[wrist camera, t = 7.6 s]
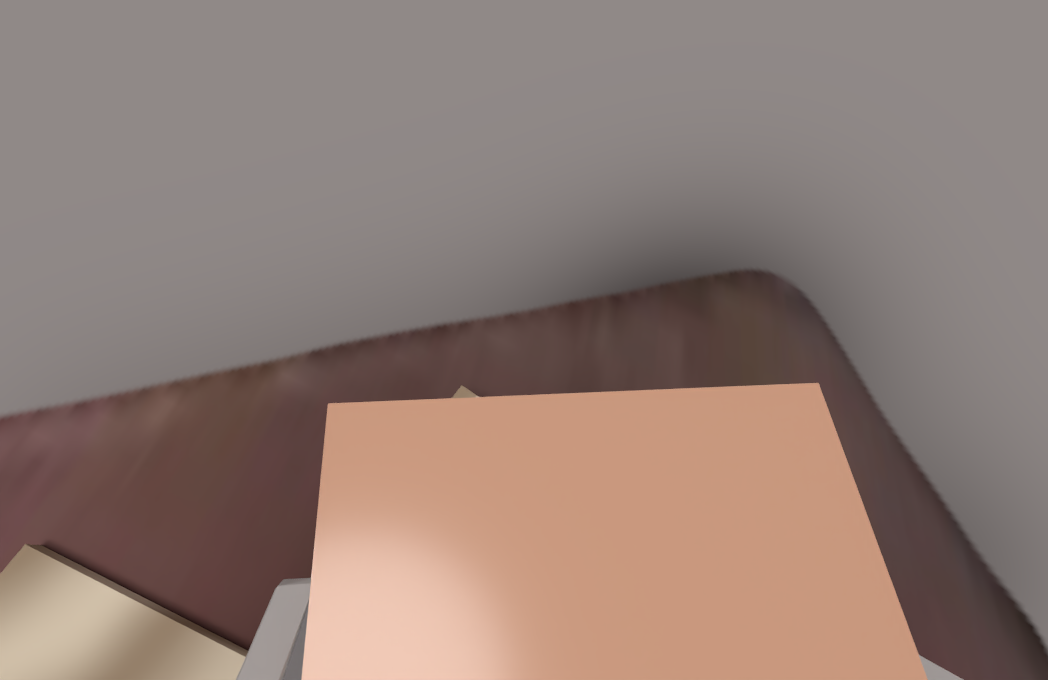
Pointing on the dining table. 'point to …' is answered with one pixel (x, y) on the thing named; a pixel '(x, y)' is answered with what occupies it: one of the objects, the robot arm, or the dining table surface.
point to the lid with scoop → (97, 629)
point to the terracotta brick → (598, 542)
